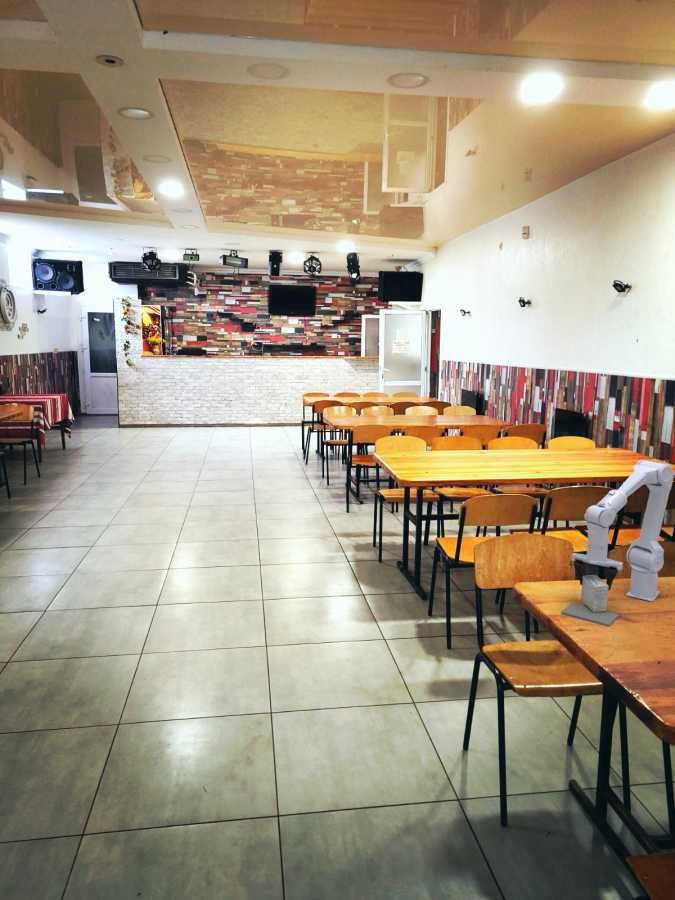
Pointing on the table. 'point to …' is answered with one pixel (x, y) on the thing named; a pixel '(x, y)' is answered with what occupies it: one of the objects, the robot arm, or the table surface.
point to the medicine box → (594, 593)
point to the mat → (590, 614)
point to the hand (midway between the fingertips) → (595, 586)
